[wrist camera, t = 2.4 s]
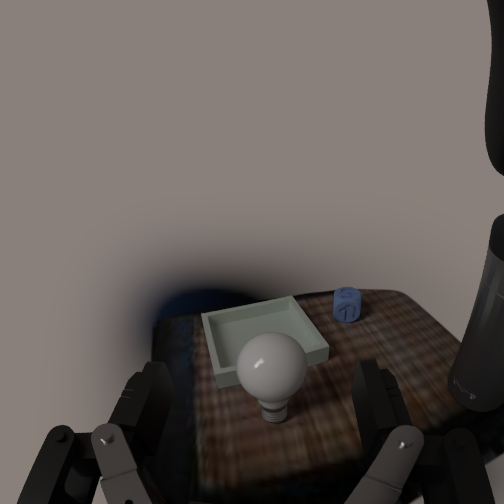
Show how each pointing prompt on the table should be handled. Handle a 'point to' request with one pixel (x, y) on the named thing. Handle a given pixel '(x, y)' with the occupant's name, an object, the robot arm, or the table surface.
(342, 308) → the decorative dice
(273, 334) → the lightbulb
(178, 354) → the table surface
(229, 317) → the parts tray
